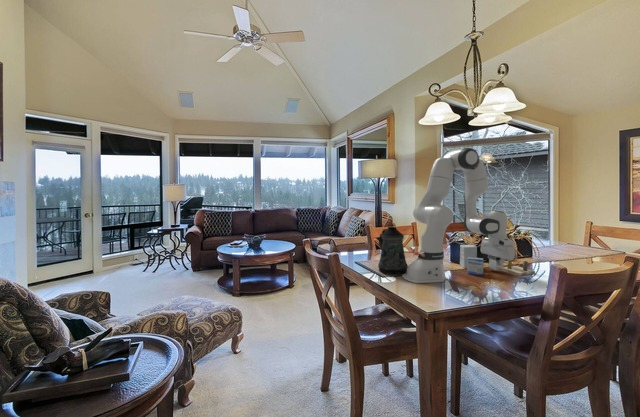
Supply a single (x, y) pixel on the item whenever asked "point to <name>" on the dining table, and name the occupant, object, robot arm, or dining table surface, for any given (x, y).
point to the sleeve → (494, 263)
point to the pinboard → (517, 269)
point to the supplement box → (467, 254)
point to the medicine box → (475, 266)
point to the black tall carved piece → (392, 252)
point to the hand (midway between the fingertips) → (496, 264)
